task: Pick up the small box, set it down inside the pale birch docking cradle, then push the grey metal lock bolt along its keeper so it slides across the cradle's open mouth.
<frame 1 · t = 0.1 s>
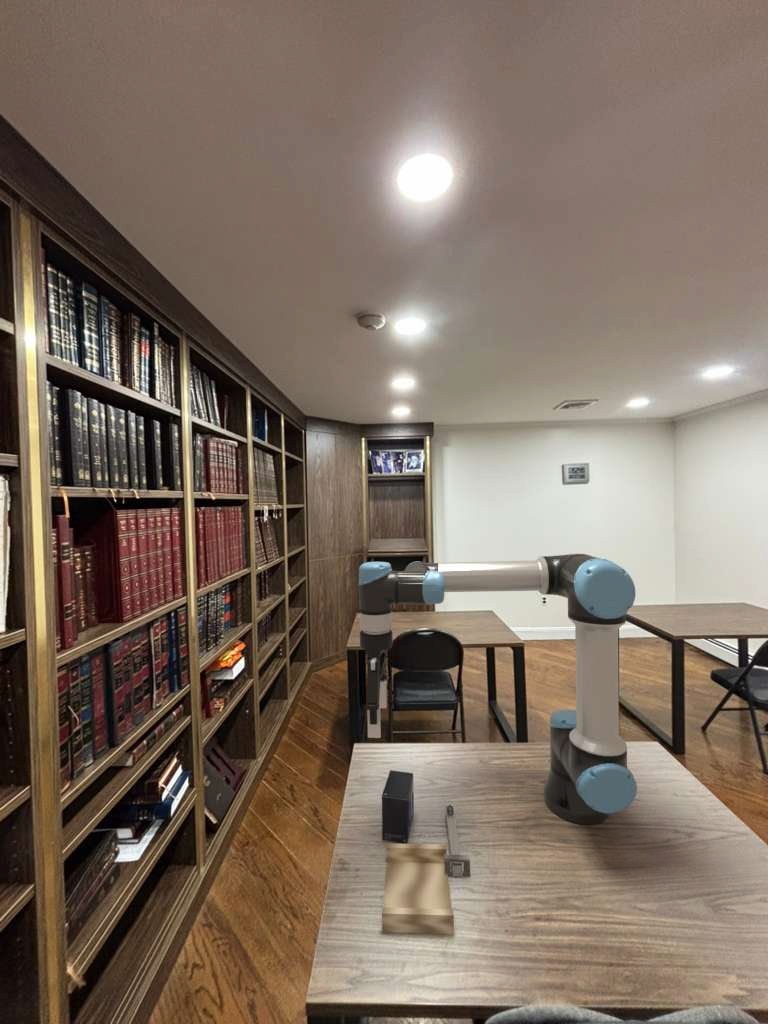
hand: (377, 721, 101), 28 cm above the table, fingers open, 13 cm apart
lock bolt: (453, 836, 100), point 2 cm above the table, slide at 0.0 cm
small box: (399, 827, 106), on the table
cradle: (417, 893, 88), on the table
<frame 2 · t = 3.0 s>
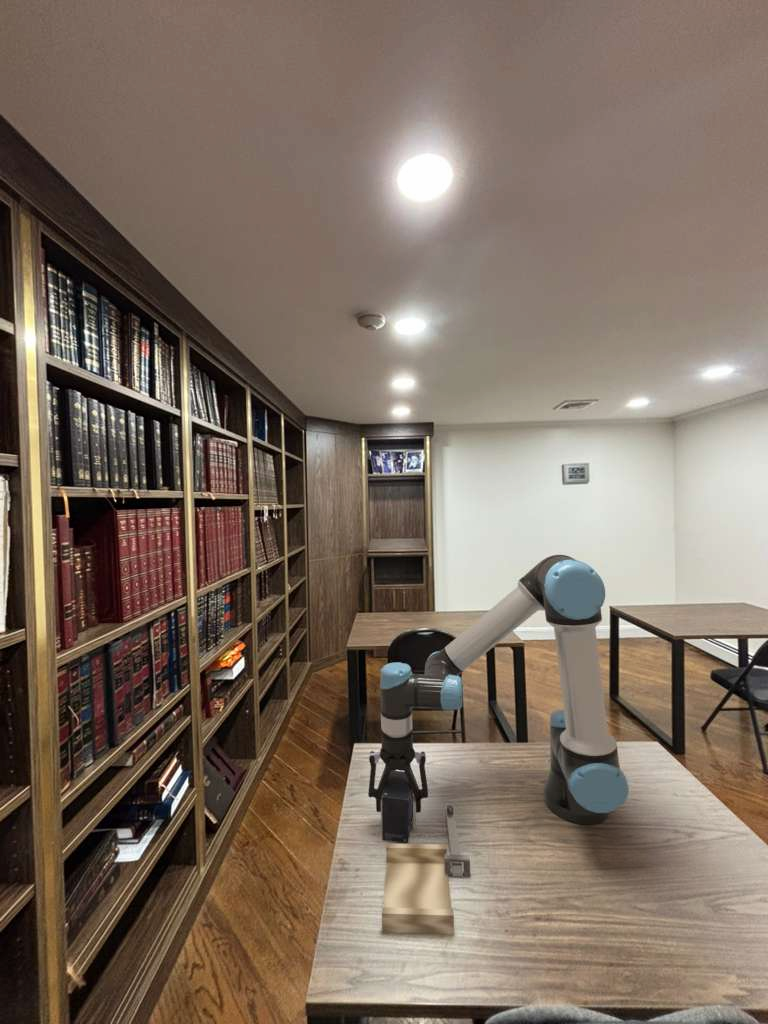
hand: (398, 823, 106), 1 cm above the table, fingers closed on small box, 7 cm apart
small box: (399, 827, 106), on the table, touching gripper
everything else where it was.
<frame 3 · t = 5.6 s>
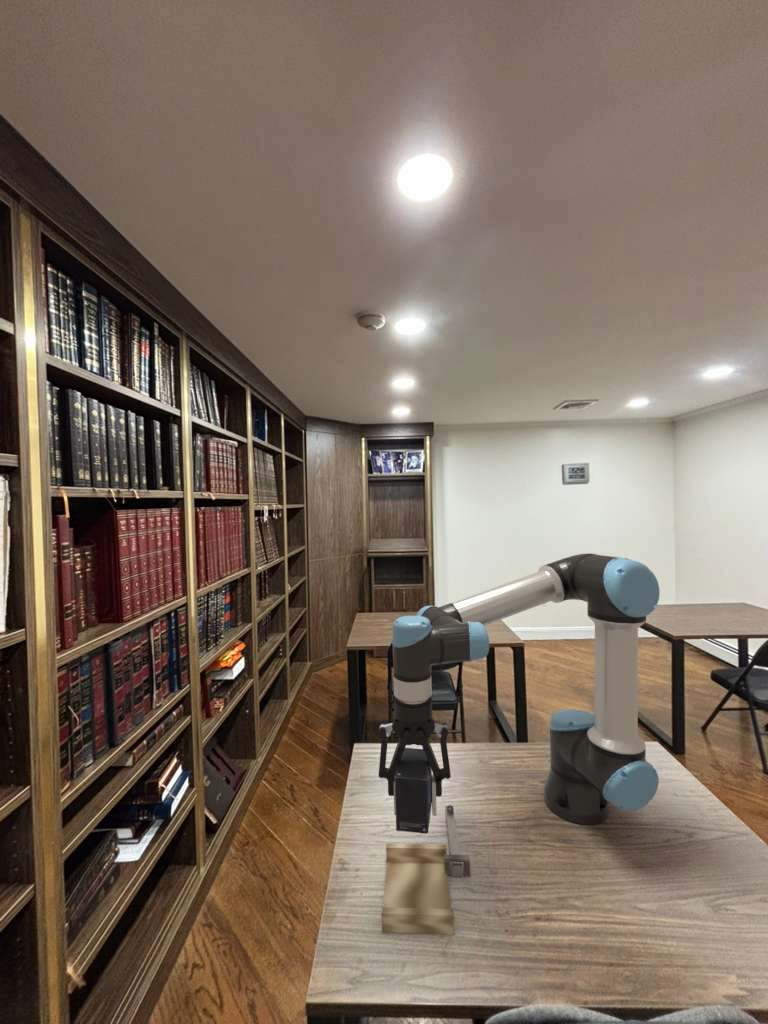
hand: (415, 810, 87), 17 cm above the table, fingers closed on small box, 7 cm apart
small box: (415, 815, 87), point 16 cm above the table, touching gripper
everything else where it was.
when the fingers open (2 cm above the table, at t = 8.6 s): small box stays where it is, resting on cradle.
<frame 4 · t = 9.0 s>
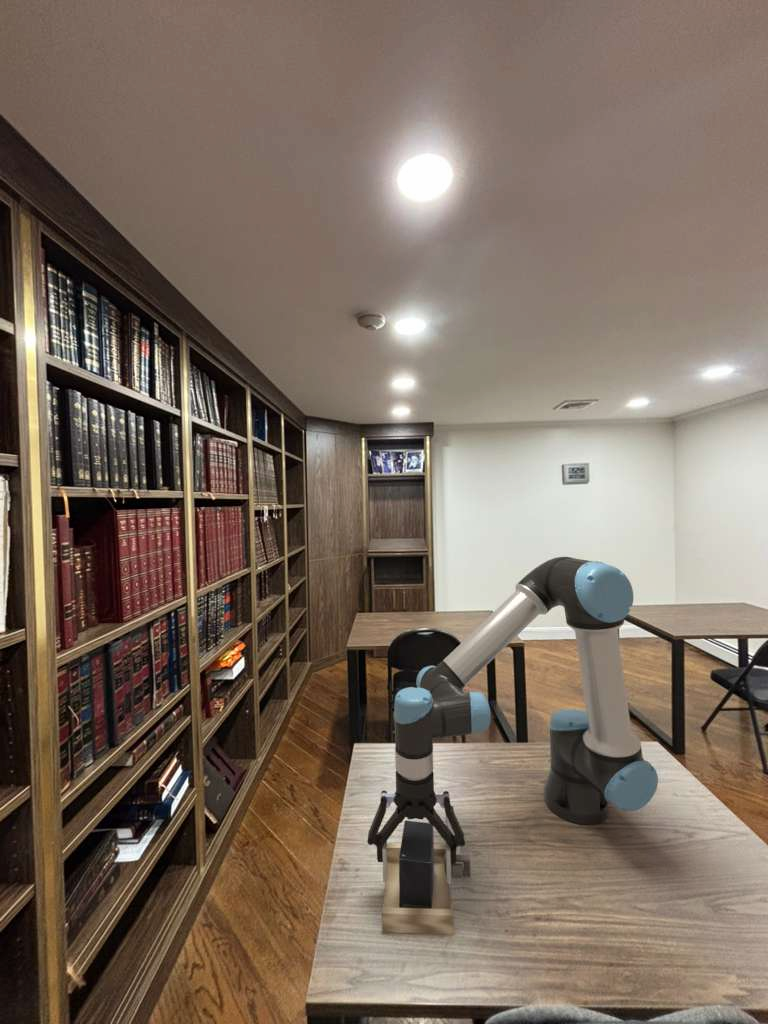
hand: (416, 876, 88), 3 cm above the table, fingers open, 12 cm apart
small box: (417, 892, 88), resting on cradle
everything else where it was.
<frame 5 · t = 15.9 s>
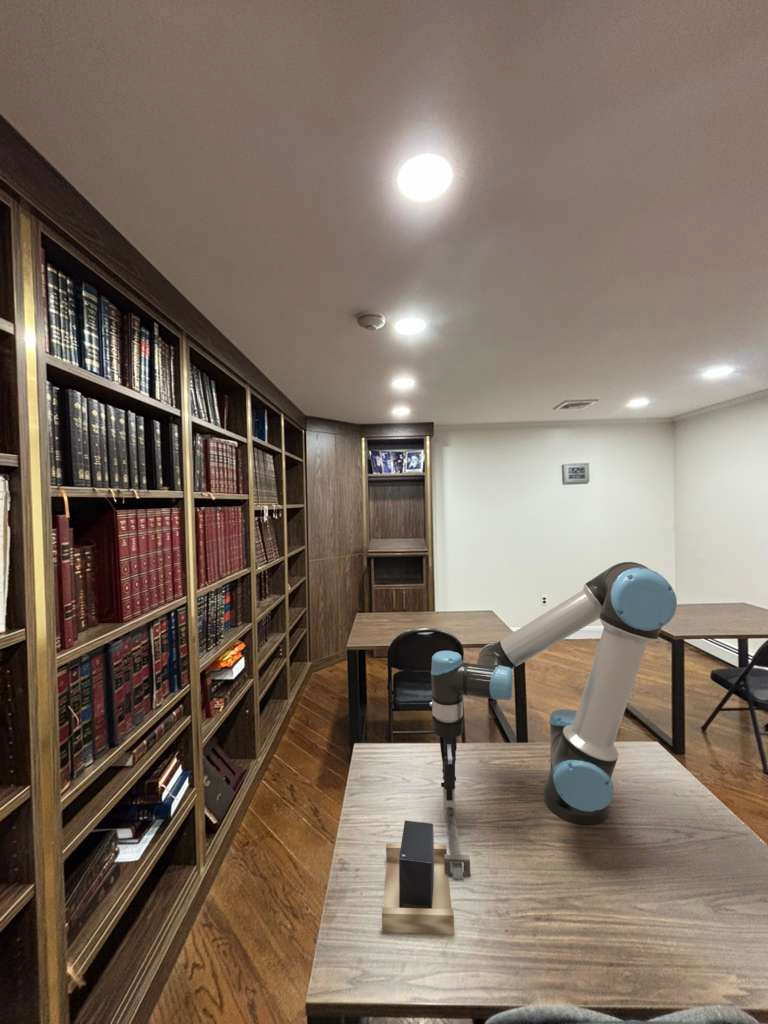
hand: (449, 809, 109), 1 cm above the table, fingers closed
lock bolt: (453, 838, 100), point 2 cm above the table, slide at 0.6 cm, touching gripper
everything else where it was.
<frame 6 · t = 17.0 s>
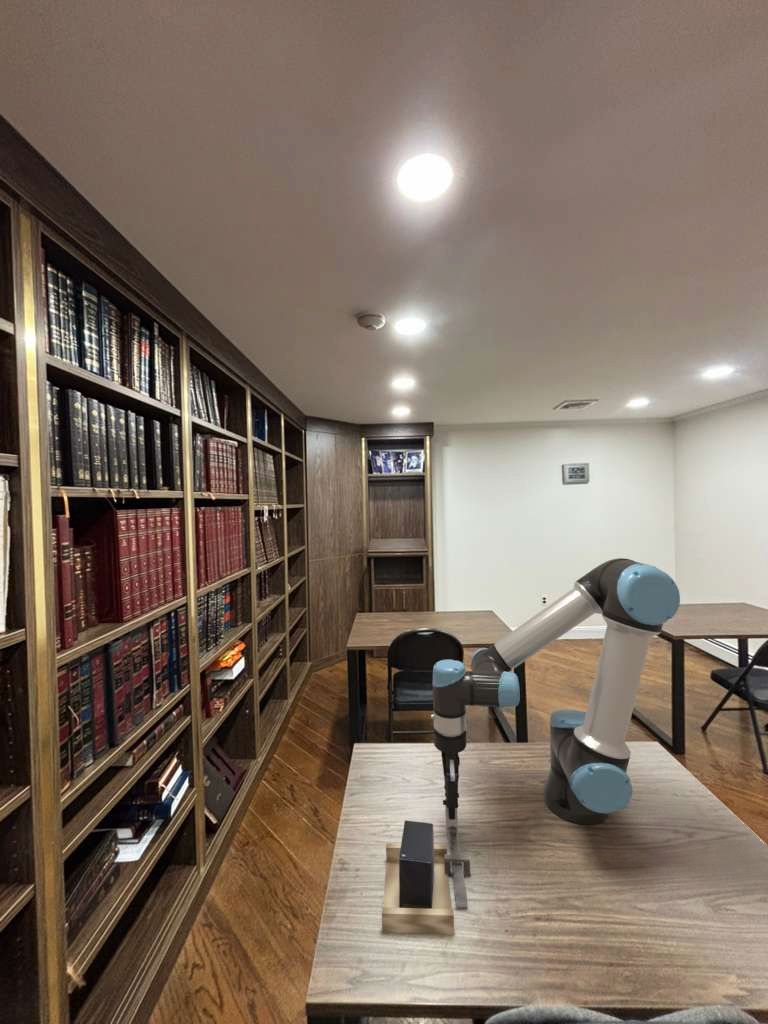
hand: (451, 828, 103), 1 cm above the table, fingers closed
lock bolt: (456, 861, 93), point 2 cm above the table, slide at 7.0 cm, touching gripper
everything else where it was.
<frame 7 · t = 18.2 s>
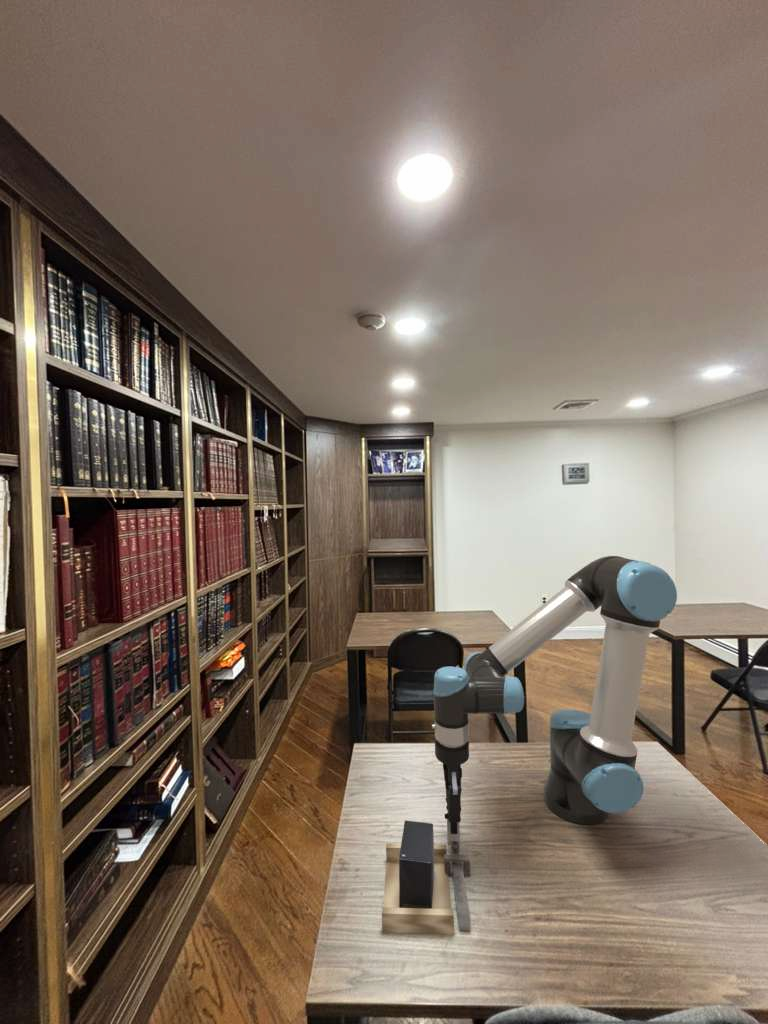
hand: (453, 843, 98), 1 cm above the table, fingers closed
lock bolt: (458, 879, 89), point 2 cm above the table, slide at 11.5 cm, touching gripper
everything else where it was.
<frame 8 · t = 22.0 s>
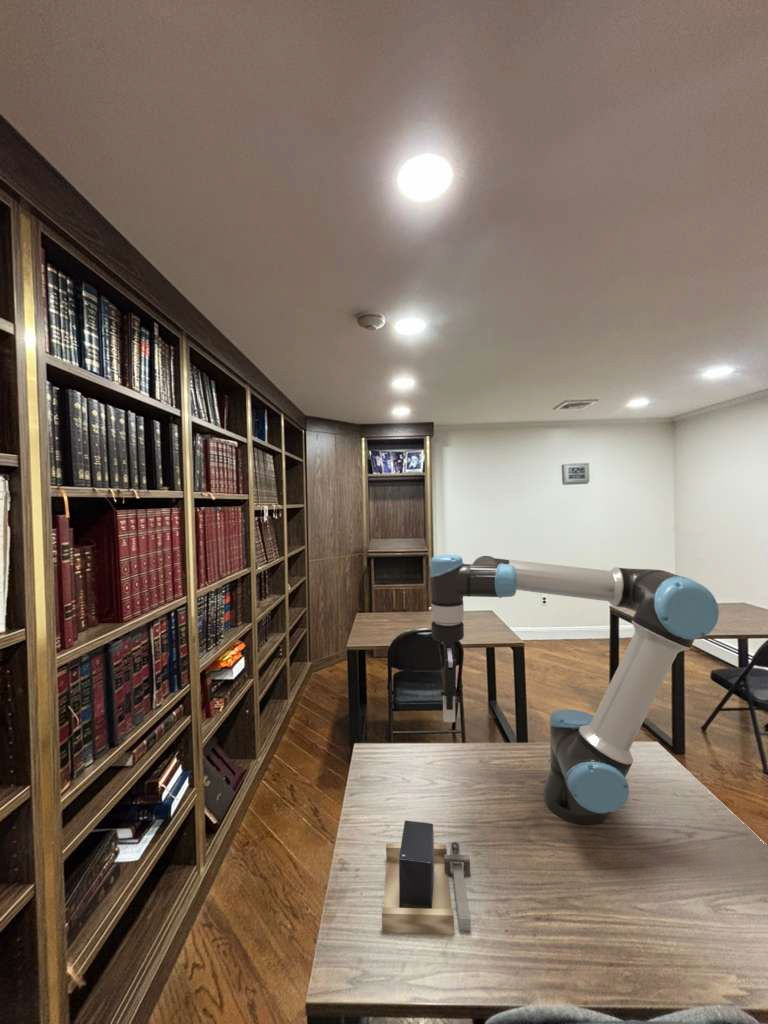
hand: (449, 720, 104), 26 cm above the table, fingers closed
lock bolt: (459, 880, 88), point 2 cm above the table, slide at 11.7 cm
everything else where it was.
at the end: small box inside the target area on the cradle (0.2 cm from its centre), point 0.2 cm above the cradle's base; small box tilted 0°; lock bolt slide at 11.7 cm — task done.
